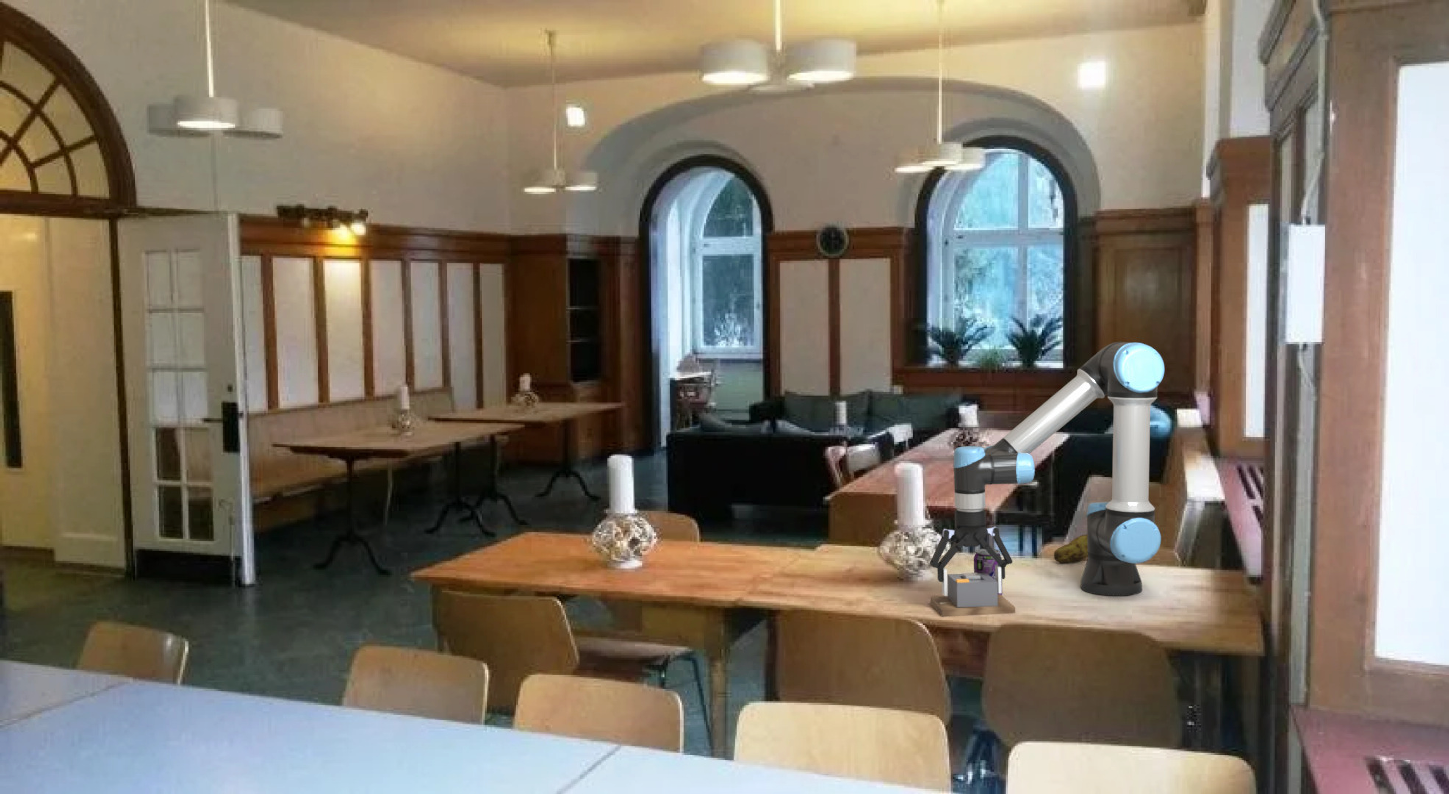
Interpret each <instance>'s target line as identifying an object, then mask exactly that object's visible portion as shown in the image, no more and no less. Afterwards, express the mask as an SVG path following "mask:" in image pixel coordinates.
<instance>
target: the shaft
mask: <svg viewBox="0 0 1449 794" xmlns="http://www.w3.org/2000/svg"><path fill="white" fill-rule="evenodd" d="M961 574H962V578H963V579H969V581H972V580H980V575H979V574H978V573H974V572H962V573H961Z"/></svg>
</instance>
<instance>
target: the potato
mask: <svg viewBox="0 0 1449 794" xmlns="http://www.w3.org/2000/svg"><path fill="white" fill-rule="evenodd" d="M1053 558H1054V560H1055V561H1056V562H1057V563H1059V564H1066V563H1067V564H1071V563H1078V562H1080V561H1083V560H1085V559H1086V558H1087V559H1088V543H1087V533H1086V534H1081V535H1080V536H1077V537H1075V538H1074V539H1072V540H1071V541H1070V542H1068V544H1064V545H1062V546H1060V547H1059V548H1057V549H1056V550H1055V551H1054V552H1053Z"/></svg>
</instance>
